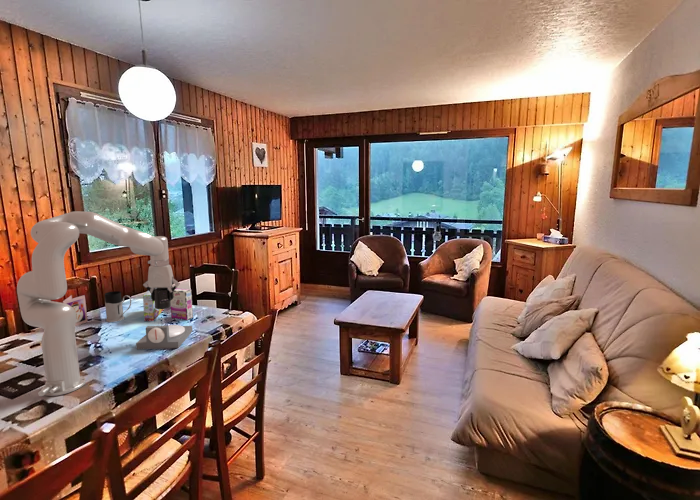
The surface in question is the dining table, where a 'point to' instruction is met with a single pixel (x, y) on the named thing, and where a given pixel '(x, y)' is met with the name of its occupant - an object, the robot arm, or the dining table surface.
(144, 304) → the snack box
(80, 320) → the greeting card
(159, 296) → the supplement bottle
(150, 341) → the dial scale
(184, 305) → the candy bar box
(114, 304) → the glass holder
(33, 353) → the dining table surface
